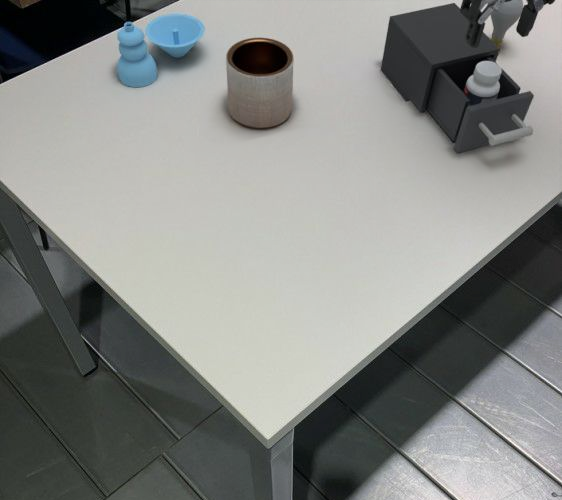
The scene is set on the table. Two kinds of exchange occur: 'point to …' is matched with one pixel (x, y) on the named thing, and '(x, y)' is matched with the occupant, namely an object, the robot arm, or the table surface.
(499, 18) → the light bulb
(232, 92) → the planter
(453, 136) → the pull-out drawer
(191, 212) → the table surface
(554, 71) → the table surface
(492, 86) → the pill bottle
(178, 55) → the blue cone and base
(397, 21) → the small drawer cabinet
